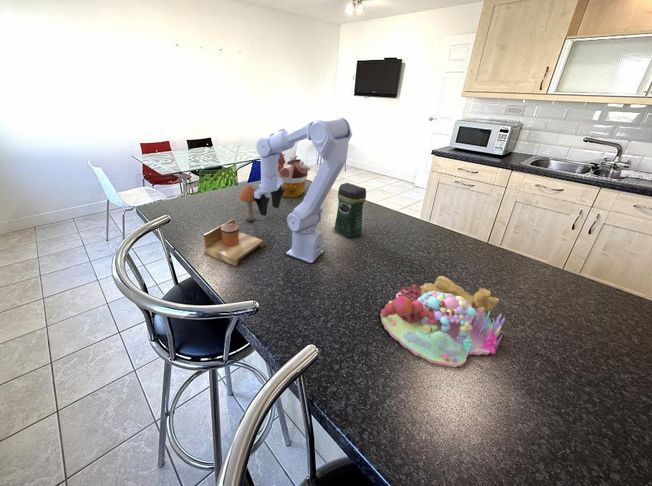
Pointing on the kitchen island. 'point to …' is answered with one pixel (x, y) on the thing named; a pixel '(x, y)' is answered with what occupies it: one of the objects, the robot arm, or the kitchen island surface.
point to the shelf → (229, 252)
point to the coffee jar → (350, 209)
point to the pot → (230, 234)
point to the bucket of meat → (292, 175)
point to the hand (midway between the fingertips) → (269, 211)
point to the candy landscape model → (443, 322)
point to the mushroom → (248, 200)
